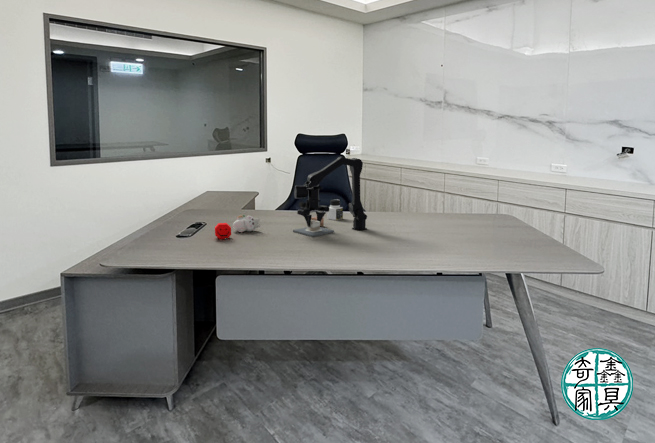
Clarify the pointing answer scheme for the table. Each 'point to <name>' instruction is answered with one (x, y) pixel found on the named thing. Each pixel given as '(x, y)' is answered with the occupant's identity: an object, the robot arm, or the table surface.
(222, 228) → the ball
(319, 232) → the blue-grey square plate
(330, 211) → the medicine bottle
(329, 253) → the table surface
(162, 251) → the table surface
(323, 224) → the terracotta block
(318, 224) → the off-white block
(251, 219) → the cat figurine
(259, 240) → the table surface
